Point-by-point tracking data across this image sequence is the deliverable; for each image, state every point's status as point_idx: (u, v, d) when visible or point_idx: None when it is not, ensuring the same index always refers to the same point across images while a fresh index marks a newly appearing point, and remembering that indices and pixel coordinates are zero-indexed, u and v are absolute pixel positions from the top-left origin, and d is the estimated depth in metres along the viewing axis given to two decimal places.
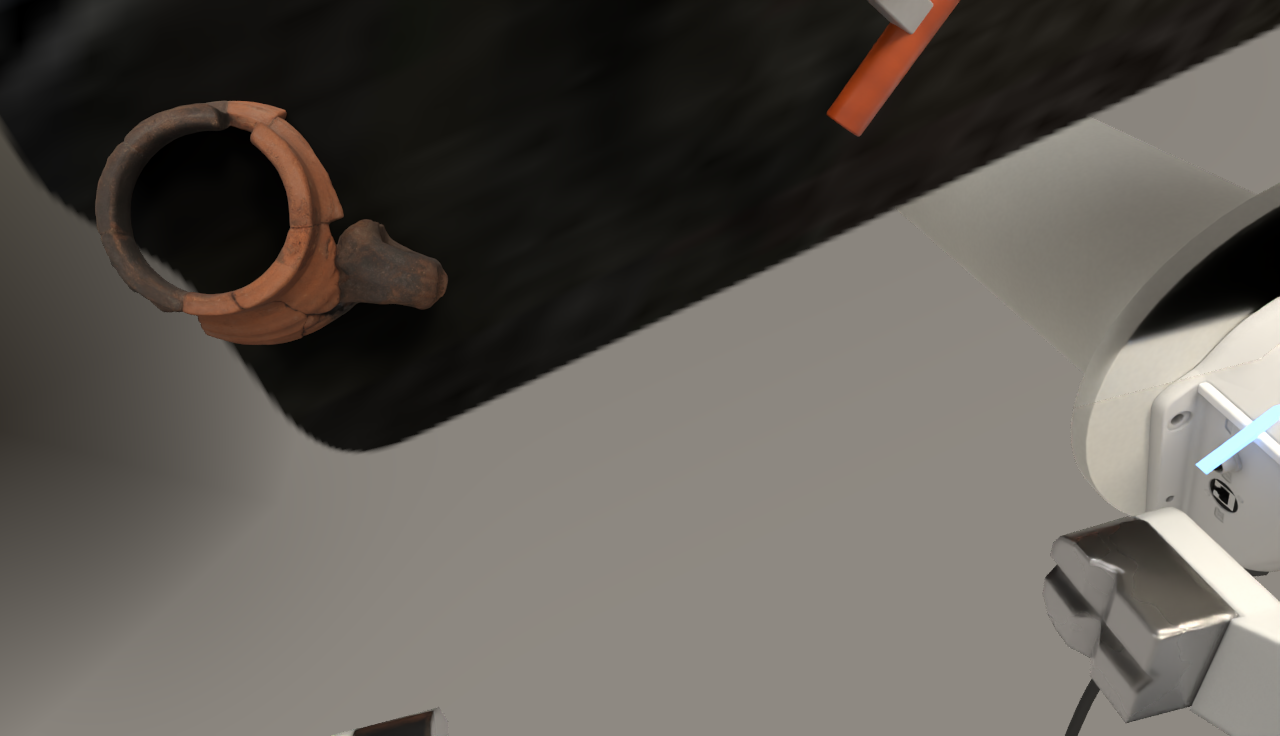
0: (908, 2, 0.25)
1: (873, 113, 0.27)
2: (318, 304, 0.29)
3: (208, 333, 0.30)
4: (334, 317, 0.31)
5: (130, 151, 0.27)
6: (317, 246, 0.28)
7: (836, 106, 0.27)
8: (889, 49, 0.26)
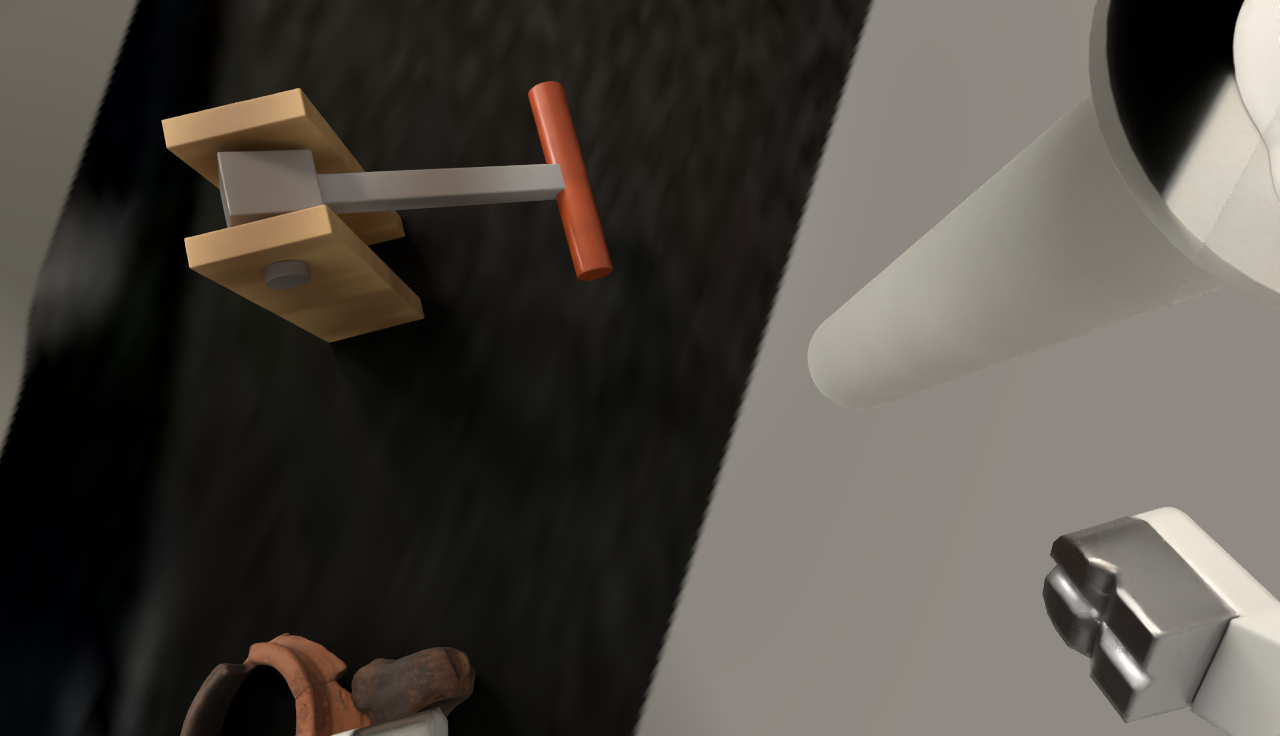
0: (533, 176, 0.30)
1: (597, 246, 0.31)
2: None
3: None
4: None
5: None
6: (331, 703, 0.30)
7: (575, 268, 0.31)
8: (564, 208, 0.31)
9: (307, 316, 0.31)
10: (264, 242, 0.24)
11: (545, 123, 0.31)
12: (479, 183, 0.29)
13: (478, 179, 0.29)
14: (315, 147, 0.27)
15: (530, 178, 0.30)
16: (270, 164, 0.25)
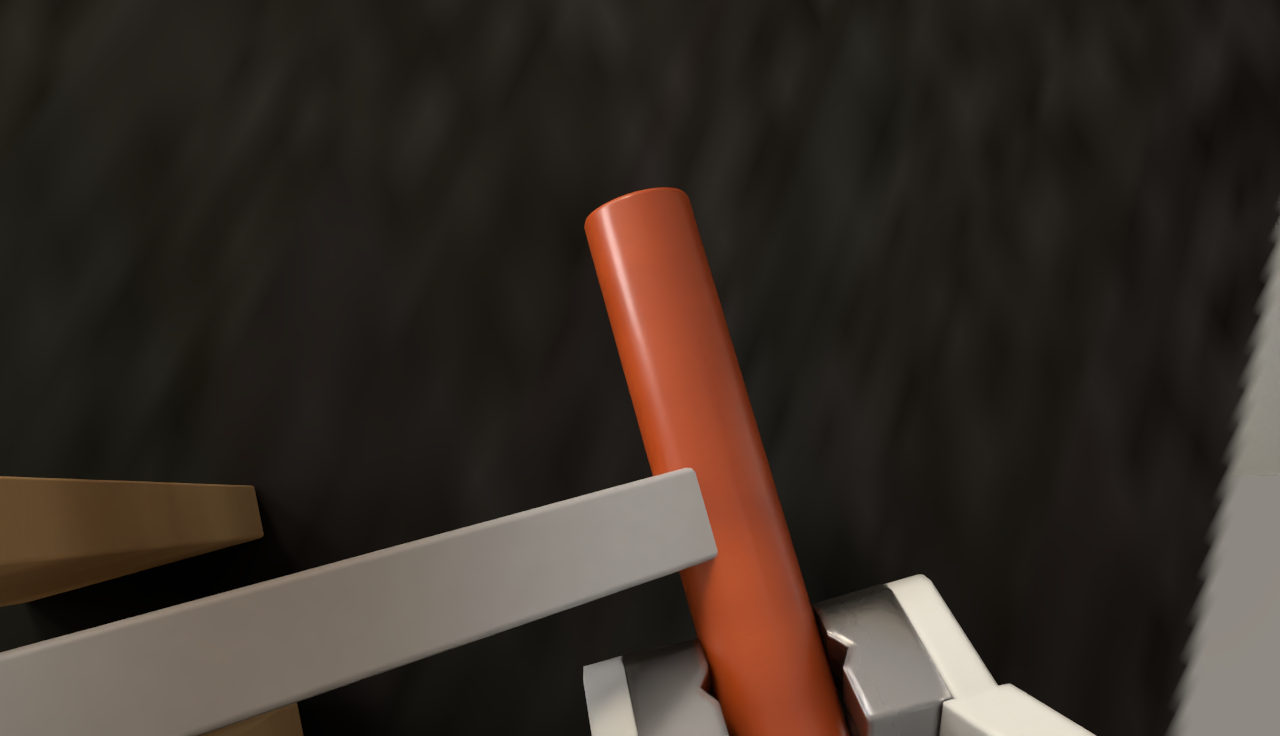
0: (613, 535, 0.09)
1: None
2: None
3: None
4: None
5: None
6: None
7: None
8: (713, 621, 0.09)
9: None
10: None
11: (644, 327, 0.10)
12: (416, 615, 0.08)
13: (412, 598, 0.08)
14: None
15: (604, 546, 0.09)
16: None
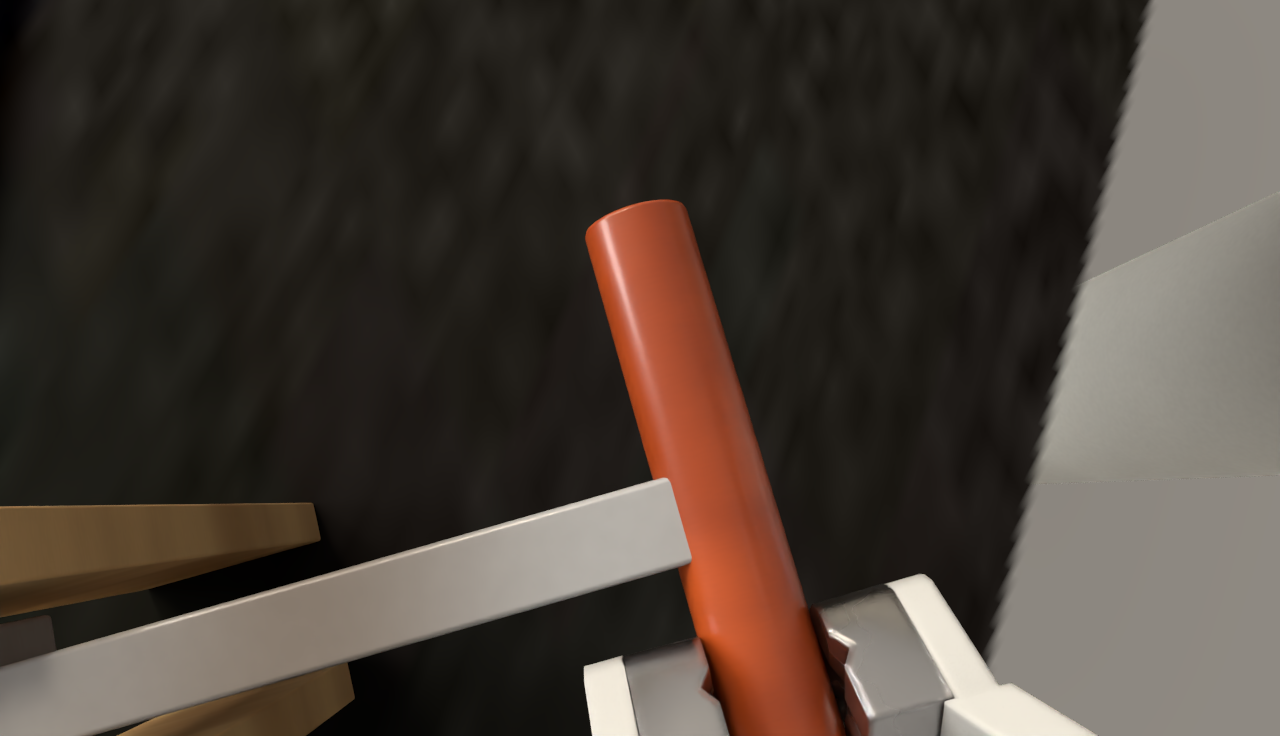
0: (585, 543, 0.10)
1: None
2: None
3: None
4: None
5: None
6: None
7: None
8: (697, 619, 0.10)
9: None
10: None
11: (625, 344, 0.10)
12: (414, 607, 0.10)
13: (412, 593, 0.10)
14: (19, 587, 0.11)
15: (575, 553, 0.10)
16: None
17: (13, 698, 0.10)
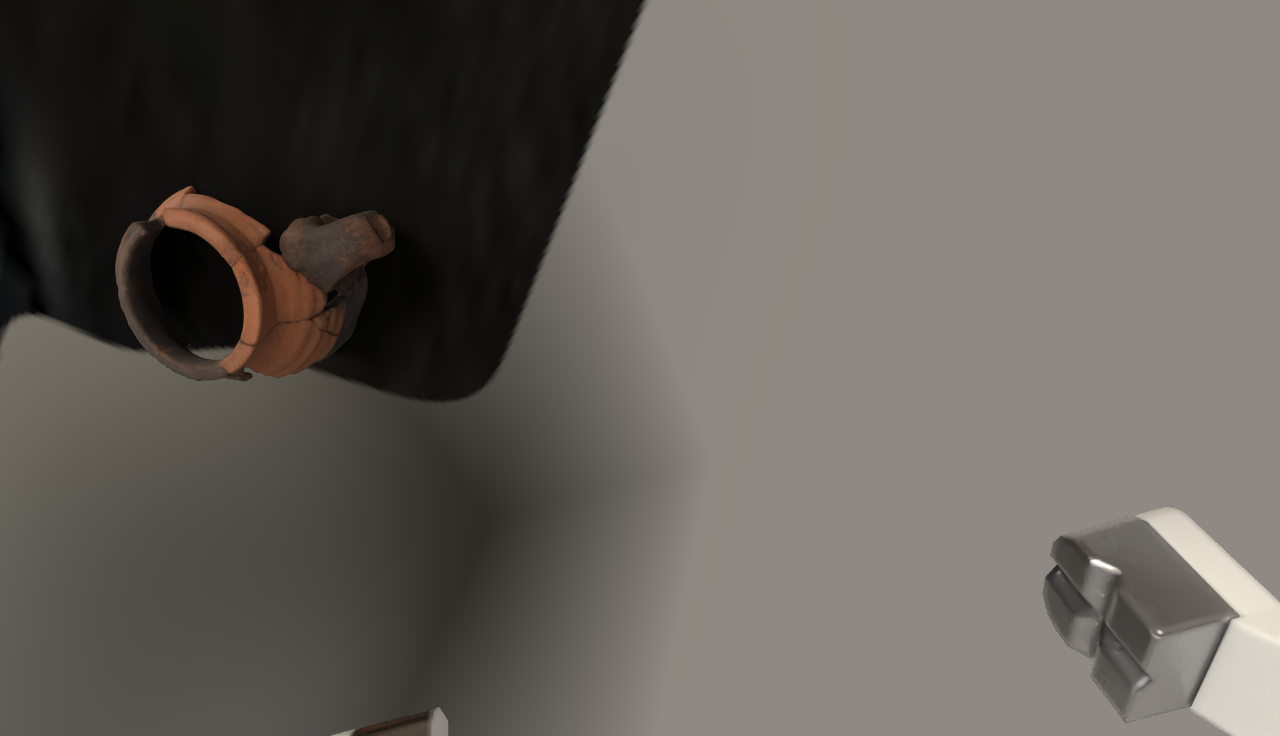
0: None
1: None
2: (309, 306, 0.33)
3: (276, 376, 0.36)
4: (342, 307, 0.35)
5: (124, 291, 0.33)
6: (266, 266, 0.32)
7: None
8: None
9: None
10: None
11: None
12: None
13: None
14: None
15: None
16: None
17: None
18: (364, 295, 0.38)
